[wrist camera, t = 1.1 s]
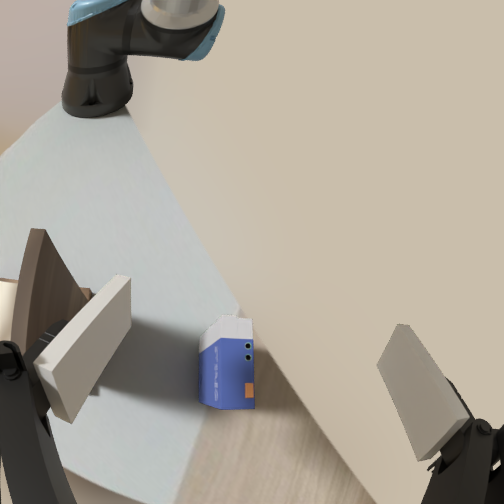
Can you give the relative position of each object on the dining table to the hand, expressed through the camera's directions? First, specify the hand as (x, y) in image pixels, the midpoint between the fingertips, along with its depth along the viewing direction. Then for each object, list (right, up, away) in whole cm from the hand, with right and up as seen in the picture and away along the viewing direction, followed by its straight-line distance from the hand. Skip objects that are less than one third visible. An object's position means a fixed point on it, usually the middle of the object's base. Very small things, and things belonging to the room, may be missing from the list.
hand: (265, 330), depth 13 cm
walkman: (-6, -10, +19) cm, 22 cm away
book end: (-27, -6, +12) cm, 30 cm away
